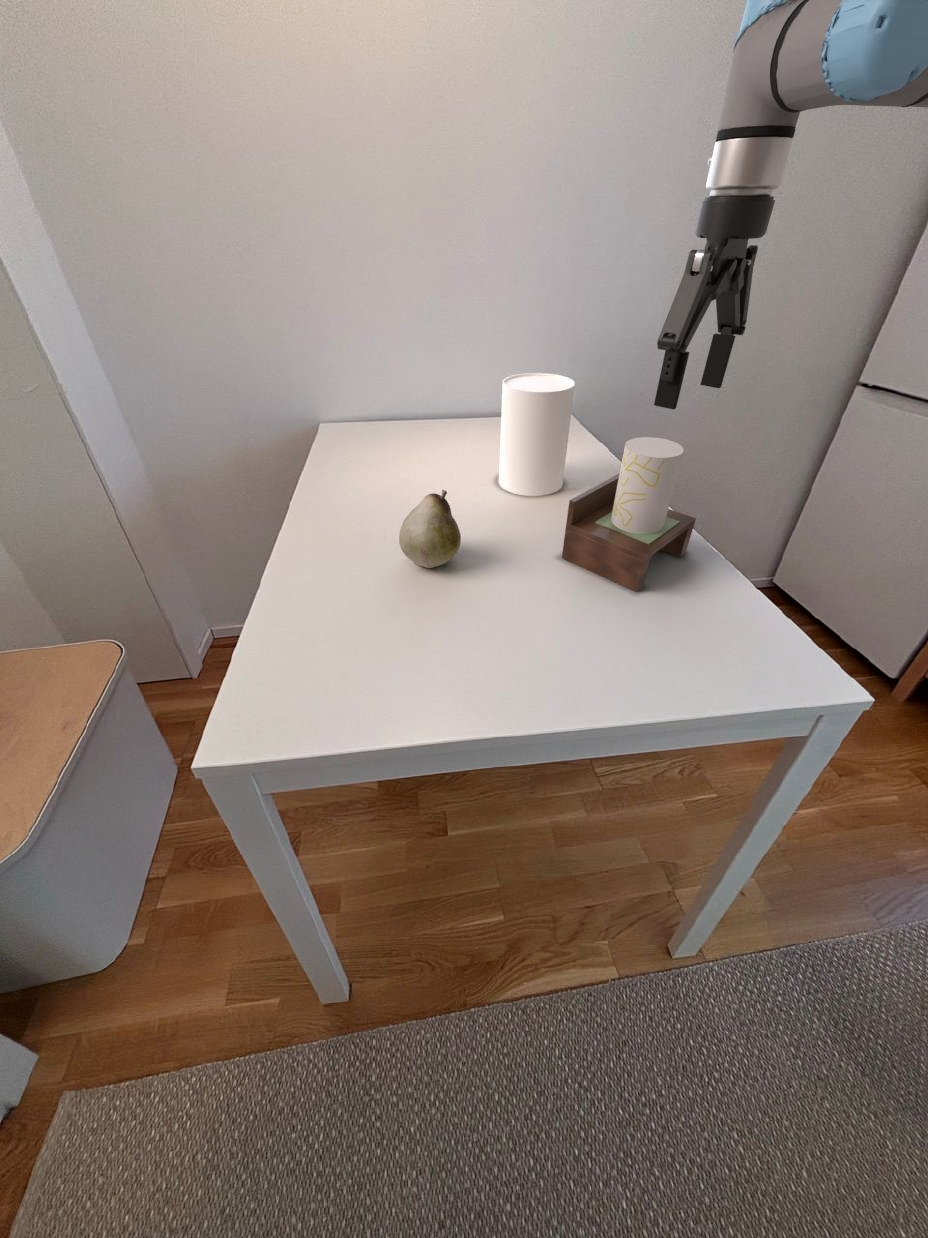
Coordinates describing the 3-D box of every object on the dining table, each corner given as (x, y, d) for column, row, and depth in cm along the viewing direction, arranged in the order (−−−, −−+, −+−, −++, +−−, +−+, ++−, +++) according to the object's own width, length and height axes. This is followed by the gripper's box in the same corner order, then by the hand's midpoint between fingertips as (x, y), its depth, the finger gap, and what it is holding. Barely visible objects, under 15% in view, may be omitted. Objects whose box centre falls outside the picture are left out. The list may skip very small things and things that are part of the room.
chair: (685, 552, 87) (703, 495, 81) (636, 592, 79) (651, 531, 72) (613, 525, 95) (624, 470, 88) (561, 558, 86) (569, 499, 80)
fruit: (472, 560, 86) (472, 493, 78) (432, 584, 80) (428, 514, 73) (428, 539, 91) (425, 475, 84) (388, 561, 86) (381, 493, 78)
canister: (536, 464, 117) (544, 369, 105) (575, 486, 108) (589, 384, 96) (486, 477, 112) (488, 379, 99) (524, 501, 103) (531, 396, 90)
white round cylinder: (600, 516, 83) (613, 443, 76) (638, 505, 86) (654, 433, 79) (635, 539, 78) (653, 461, 70) (675, 526, 81) (696, 450, 73)
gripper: (749, 195, 66) (702, 374, 79) (652, 192, 52) (615, 410, 65) (812, 194, 62) (752, 383, 75) (726, 190, 48) (671, 423, 61)
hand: (688, 396), depth 70 cm, fingers open, 13 cm apart
